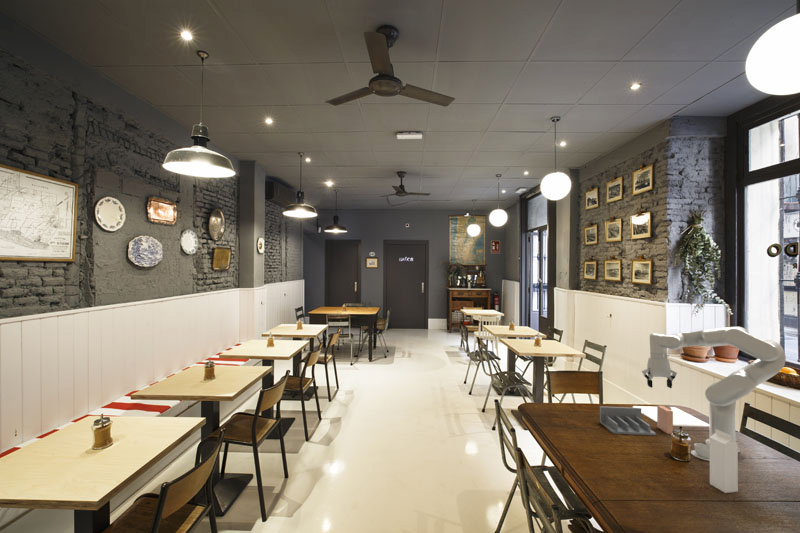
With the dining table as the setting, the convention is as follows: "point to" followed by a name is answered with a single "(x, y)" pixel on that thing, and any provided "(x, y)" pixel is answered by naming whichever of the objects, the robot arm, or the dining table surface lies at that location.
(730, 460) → the milk
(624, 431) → the dish rack
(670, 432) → the plate block
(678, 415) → the tray
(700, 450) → the teacup
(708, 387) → the robot arm
